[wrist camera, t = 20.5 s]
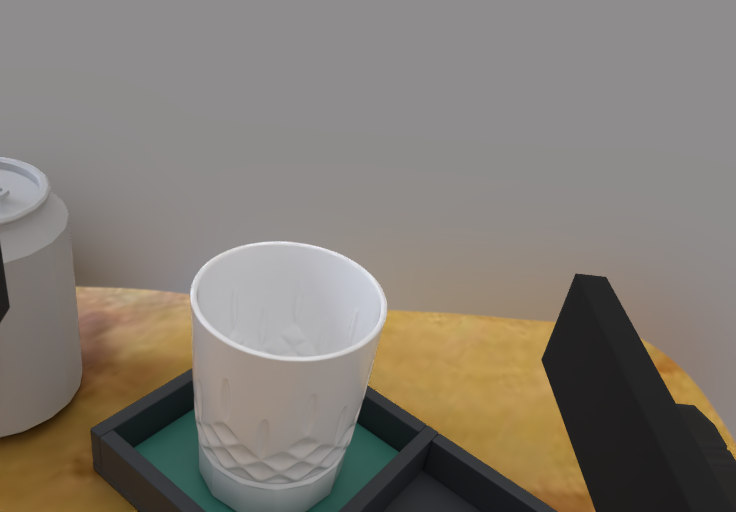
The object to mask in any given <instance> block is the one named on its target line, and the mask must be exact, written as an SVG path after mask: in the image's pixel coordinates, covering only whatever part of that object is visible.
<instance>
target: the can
mask: <svg viewBox="0 0 736 512" xmlns="http://www.w3.org/2000/svg"><path fill="white" fill-rule="evenodd" d="M50 190H51V186H50V184H49V181H48V178H47V176H46V175H44V174H43V173H42V172H41V171H40V170H38V169H37V168H36V167H34V166H32V165H29V164H27V163H24V162H22V161H19V160H16V159H10V158H5V157H0V244H1V250H2V257H3V264H4V271H5V277H6V284H7V291H8V298H9V304H10V308H9V310H8V312H7V313H6V315H5V316H4V318H3V320H2V321H1V323H0V437H5V436H9V435H13V434H17V433H20V432H24V431H26V430H28V429H30V428H32V427H34V426H36V425H38V424H40V423H42V422H44V421H46V420H48V419H50V418H51V417H53V416H54V415H55V414H56V413H57V412H59V411H60V410H61V409H62V408H64V407H65V406H66V405H67V404H68V403H69V402H70V401H71V399H72V398H73V396H74V395H75V393H76V392H77V390H78V389H79V387H80V383H81V377H82V372H83V368H82V357H81V346H80V334H79V323H78V312H77V300H76V289H75V278H74V267H73V256H72V244H71V232H70V222H69V214H68V211H67V208H66V206H65V203H64V202H63V201H62V200H61V199H60V198H59V197H57V196H56V195H55V194H54V193H52V192H51V191H50Z"/></svg>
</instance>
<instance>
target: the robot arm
mask: <svg viewBox="0 0 736 512" xmlns="http://www.w3.org/2000/svg"><path fill="white" fill-rule="evenodd" d="M9 308H10V304H9V298H8V291H7V284H6V277H5V271H4V264H3V257H2V250H1V244H0V323H1V321H2V320H3V318H4V316H5V315H6V313H7V312H8V310H9ZM542 363H543V365H544V368H545V371H546V374H547V377H548V379H549V382H550V385H551V388H552V391H553V393H554V396H555V399H556V402H557V405H558V407H559V410H560V413H561V416H562V418H563V421H564V424H565V427H566V430H567V432H568V435H569V438H570V441H571V444H572V446H573V449H574V452H575V455H576V457H577V460H578V463H579V466H580V469H581V471H582V474H583V477H584V480H585V483H586V485H587V488H588V491H589V494H590V497H591V499H592V502H593V505H594V508H595V510H596V512H736V460H735V459H734V457H733V455H732V454H731V452H730V451H729V450H727V445H726V444H725V442H724V440H723V439H722V437H721V435H720V433H719V432H718V430H717V428H716V427H715V425H714V424H713V423H712V422H711V421H710V420H709V419H708V418H707V417H706V416H705V415H704V414H703V413H702V412H700V411H699V410H698V409H697V408H696V407H695V406H694V405H685V404H676V403H675V401H674V400H673V398H672V396H671V394H670V392H669V391H668V389H667V387H666V385H665V383H664V381H663V380H662V378H661V376H660V374H659V372H658V370H657V369H656V367H655V365H654V363H653V361H652V360H651V358H650V356H649V354H648V352H647V350H646V349H645V347H644V345H643V343H642V341H641V340H640V338H639V336H638V334H637V332H636V330H635V329H634V327H633V325H632V323H631V321H630V320H629V318H628V316H627V314H626V312H625V310H624V309H623V307H622V305H621V303H620V301H619V300H618V298H617V296H616V294H615V293H614V290H613V289H612V287H611V285H610V283H609V282H608V279H607V278H606V277H601V276H592V275H583V274H575V277H574V279H573V282H572V284H571V287H570V289H569V292H568V294H567V297H566V299H565V302H564V305H563V307H562V309H561V312H560V314H559V317H558V319H557V322H556V324H555V327H554V330H553V332H552V335H551V337H550V340H549V342H548V345H547V347H546V350H545V352H544V355H543V357H542Z"/></svg>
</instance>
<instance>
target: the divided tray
mask: <svg viewBox="0 0 736 512" xmlns="http://www.w3.org/2000/svg"><path fill="white" fill-rule="evenodd" d="M91 441H92V453H93V468H94V470H95V471H97V472H98V473H99V474H100V475H101V476H102V477H103V478H104V479H105V480H106V481H107V482H108V483H109V484H110V485H112V486H113V487H114V488H115V489H116V490H117V491H118V492H119V493H120V494H121V495H122V496H123V497H124V498H125V499H126V500H128V501H129V502H130V503H131V504H132V505H133V506H134V507H135V508H136V509H137V510H138V511H139V512H236V511H235V510H233V509H232V508H230V507H229V506H227V505H226V504H224V503H223V502H221V501H220V500H218V499H217V498H215V497H214V496H213V495H212V494H211V492H210V490H209V488H208V486H207V484H206V482H205V480H204V479H203V477H202V475H201V473H200V471H199V439H198V430H197V425H196V421H195V409H194V389H193V376H192V369H190V370H188V371H187V372H185V373H183V374H181V375H180V376H178V377H176V378H175V379H173V380H171V381H170V382H168V383H166V384H165V385H163V386H161V387H160V388H158V389H156V390H155V391H153V392H151V393H150V394H148V395H146V396H145V397H143V398H141V399H140V400H138V401H136V402H135V403H133V404H131V405H130V406H128V407H126V408H125V409H123V410H121V411H120V412H118V413H116V414H115V415H113V416H111V417H109V418H108V419H106V420H104V421H103V422H101V423H99V424H98V425H96V426H94V427H93V428H91ZM306 512H557V511H556V510H554V509H553V508H551V507H550V506H548V505H547V504H545V503H544V502H542V501H541V500H539V499H538V498H536V497H535V496H533V495H532V494H530V493H529V492H527V491H526V490H524V489H523V488H521V487H520V486H518V485H517V484H515V483H514V482H512V481H511V480H509V479H508V478H506V477H505V476H503V475H502V474H500V473H499V472H497V471H496V470H494V469H493V468H491V467H490V466H488V465H486V464H485V463H483V462H482V461H480V460H479V459H477V458H476V457H474V456H473V455H471V454H470V453H468V452H467V451H465V450H464V449H462V448H461V447H459V446H458V445H456V444H455V443H453V442H452V441H450V440H449V439H447V438H446V437H444V436H443V435H441V434H438V432H437V431H436V430H434V429H433V428H431V427H429V426H428V425H427V426H426V424H425V423H423V422H422V421H420V420H419V419H417V418H416V417H414V416H413V415H411V414H410V413H408V412H407V411H405V410H404V409H402V408H401V407H399V406H397V405H396V404H394V403H393V402H391V401H390V400H388V399H387V398H385V397H384V396H382V395H381V394H379V393H378V392H376V391H375V390H373V389H372V388H370V387H369V386H367V390H366V393H365V397H364V399H363V402H362V405H361V409H360V412H359V415H358V418H357V422H356V425H355V429H354V432H353V435H352V439H351V441H350V444H349V446H348V447H347V449H346V453H345V457H344V461H343V465H342V468H341V471H340V473H339V475H338V477H337V480H336V482H335V484H334V486H333V488H332V491H331V493H330V494H329V495H328V496H327V497H325V498H324V499H323V500H321V501H320V502H318V503H317V504H316V505H314V506H313V507H312V508H310V509H309V510H308V511H306Z"/></svg>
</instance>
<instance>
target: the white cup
mask: <svg viewBox="0 0 736 512" xmlns="http://www.w3.org/2000/svg"><path fill="white" fill-rule="evenodd" d="M190 305H191V337H192V376H193V389H194V409H195V421H196V425H197V430H198V439H199V471H200V473H201V475H202V477H203V479H204V480H205V482H206V484H207V486H208V488H209V490H210V492H211V494H212V495H213V496H214V497H215V498H217V499H218V500H220V501H221V502H223V503H224V504H226V505H227V506H229V507H230V508H232V509H233V510H235V511H236V512H306V511H308V510H309V509H310V508H312V507H313V506H314V505H316V504H317V503H318V502H320V501H321V500H323V499H324V498H325V497H327V496H328V495H329V494H330V493H331V491H332V488H333V486H334V484H335V482H336V480H337V477H338V475H339V473H340V471H341V468H342V465H343V461H344V457H345V453H346V449H347V447H348V446H349V444H350V441H351V439H352V435H353V432H354V429H355V425H356V422H357V418H358V415H359V412H360V409H361V405H362V402H363V399H364V397H365V393H366V390H367V386H368V382H369V379H370V375H371V371H372V367H373V364H374V360H375V356H376V352H377V349H378V345H379V341H380V338H381V334H382V331H383V327H384V324H385V320H386V316H387V301H386V297H385V295H384V292H383V290H382V288H381V286H380V285H379V283H378V282H377V281H376V279H375V278H374V277H373V276H372V275H371V274H370V273H369V272H368V271H367V270H366V269H364V268H363V267H362V266H360V265H359V264H357V263H356V262H354V261H352V260H351V259H349V258H347V257H345V256H343V255H341V254H339V253H336V252H334V251H331V250H328V249H325V248H322V247H318V246H314V245H309V244H303V243H296V242H283V241H276V242H275V241H273V242H259V243H253V244H248V245H243V246H240V247H236V248H233V249H230V250H228V251H225V252H223V253H221V254H220V255H217V256H216V257H214V258H213V259H211V260H210V261H208V263H206V264H205V265H204V266H203V267H202V268H201V269H200V270H199V271H198V273H197V274H196V276H195V278H194V280H193V283H192V286H191V291H190Z"/></svg>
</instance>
